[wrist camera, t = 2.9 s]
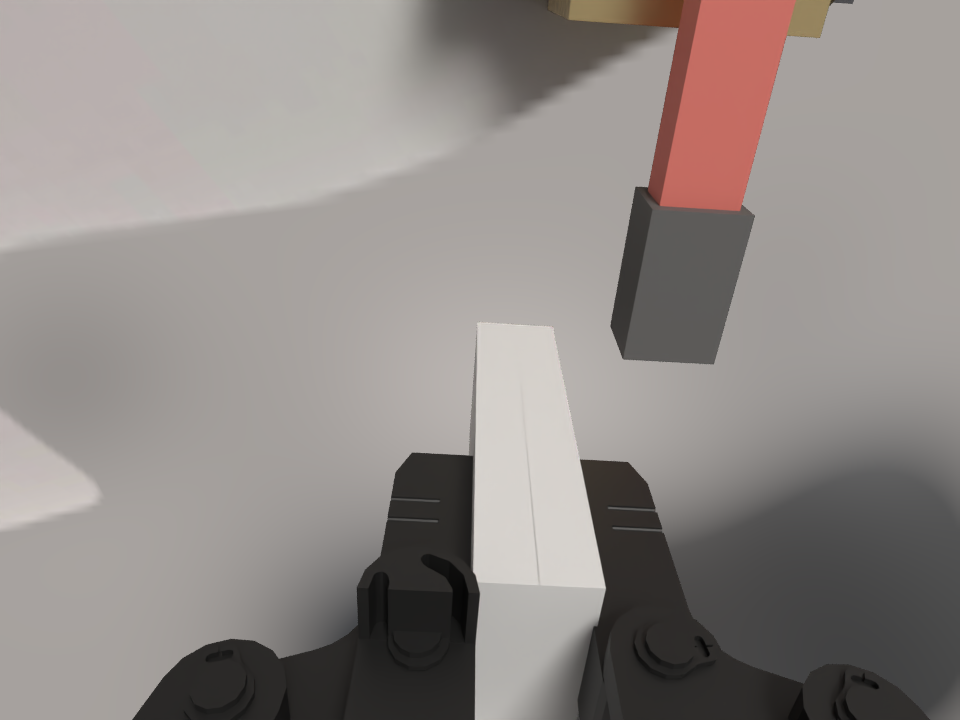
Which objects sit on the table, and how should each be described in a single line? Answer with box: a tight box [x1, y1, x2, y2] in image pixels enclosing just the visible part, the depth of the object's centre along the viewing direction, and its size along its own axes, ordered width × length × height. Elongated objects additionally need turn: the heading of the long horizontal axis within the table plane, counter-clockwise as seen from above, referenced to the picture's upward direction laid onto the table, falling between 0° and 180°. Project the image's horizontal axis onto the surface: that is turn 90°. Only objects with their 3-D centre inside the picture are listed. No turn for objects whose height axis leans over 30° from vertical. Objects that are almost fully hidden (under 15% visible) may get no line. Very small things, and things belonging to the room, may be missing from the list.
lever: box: [611, 0, 796, 364], centre depth 19 cm, size 15×4×2 cm, turn 176°
